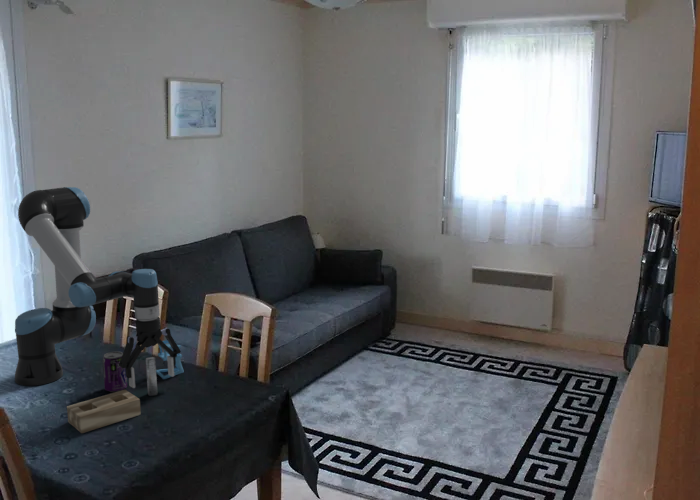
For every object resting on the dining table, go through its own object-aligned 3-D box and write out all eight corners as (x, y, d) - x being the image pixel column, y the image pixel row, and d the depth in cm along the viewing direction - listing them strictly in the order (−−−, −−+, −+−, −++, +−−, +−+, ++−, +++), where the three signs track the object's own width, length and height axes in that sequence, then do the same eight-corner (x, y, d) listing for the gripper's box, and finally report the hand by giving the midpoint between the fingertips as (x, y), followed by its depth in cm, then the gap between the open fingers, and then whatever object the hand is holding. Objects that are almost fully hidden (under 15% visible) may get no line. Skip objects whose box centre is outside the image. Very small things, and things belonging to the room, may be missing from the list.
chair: (186, 374, 238) (184, 341, 236) (163, 379, 234) (161, 346, 231) (178, 367, 244) (176, 335, 242) (155, 372, 240) (153, 340, 238)
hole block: (68, 422, 202) (66, 406, 201) (126, 404, 214) (125, 389, 213) (81, 433, 195) (80, 417, 194) (140, 414, 206) (139, 399, 205)
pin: (146, 393, 222) (143, 358, 219) (154, 391, 224) (152, 356, 221) (150, 396, 220) (148, 361, 217) (159, 393, 222) (156, 358, 219)
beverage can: (120, 394, 222) (117, 359, 219) (100, 392, 223) (97, 357, 221) (131, 385, 228) (128, 351, 226) (112, 384, 230) (109, 350, 228)
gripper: (114, 329, 206) (120, 395, 210) (188, 312, 222) (192, 373, 226) (104, 323, 211) (110, 388, 215) (177, 307, 228) (181, 368, 232)
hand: (152, 381), depth 221 cm, fingers open, 13 cm apart
